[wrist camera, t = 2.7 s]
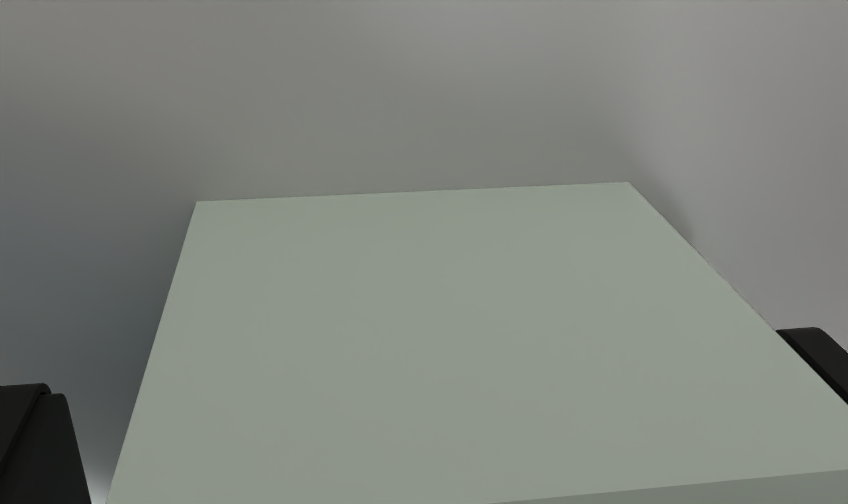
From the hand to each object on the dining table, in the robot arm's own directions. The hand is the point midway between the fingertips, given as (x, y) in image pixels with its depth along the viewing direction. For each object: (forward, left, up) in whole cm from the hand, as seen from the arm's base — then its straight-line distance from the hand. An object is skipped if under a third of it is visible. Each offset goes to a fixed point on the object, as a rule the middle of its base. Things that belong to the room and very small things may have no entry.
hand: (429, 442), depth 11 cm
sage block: (0, 0, -2) cm, 2 cm away
